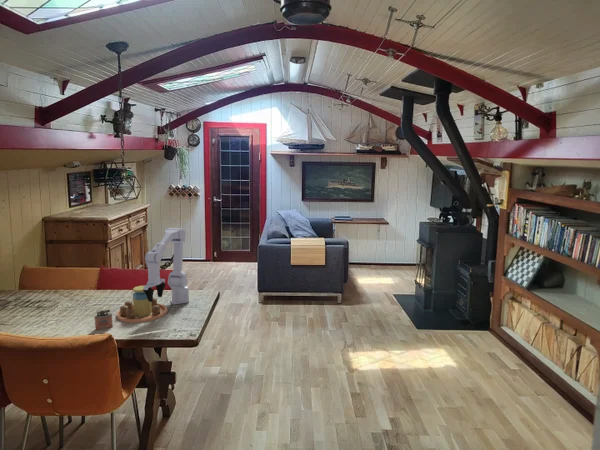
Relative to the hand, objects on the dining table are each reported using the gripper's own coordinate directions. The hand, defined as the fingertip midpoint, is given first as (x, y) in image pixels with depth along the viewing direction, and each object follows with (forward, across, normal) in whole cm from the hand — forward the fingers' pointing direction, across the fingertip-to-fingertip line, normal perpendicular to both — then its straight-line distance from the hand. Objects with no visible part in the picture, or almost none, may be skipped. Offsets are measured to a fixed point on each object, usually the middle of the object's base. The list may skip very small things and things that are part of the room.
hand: (155, 299), depth 229 cm
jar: (+10, 0, -9) cm, 13 cm away
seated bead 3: (+9, +9, -9) cm, 16 cm away
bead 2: (+9, 0, 0) cm, 9 cm away
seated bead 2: (+9, 0, -18) cm, 20 cm away
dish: (+10, 0, -9) cm, 13 cm away
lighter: (+10, +23, -13) cm, 28 cm away
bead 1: (+9, -9, -9) cm, 16 cm away
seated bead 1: (+9, +6, -15) cm, 19 cm away
